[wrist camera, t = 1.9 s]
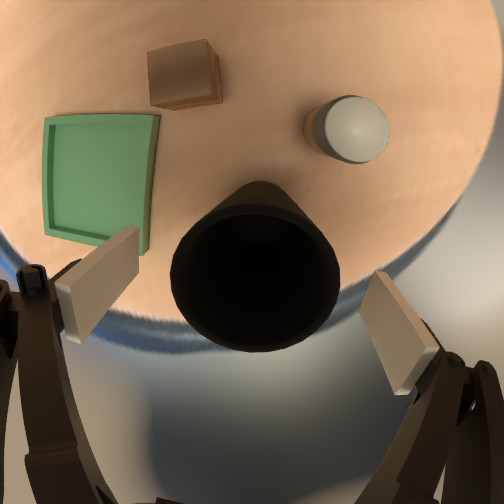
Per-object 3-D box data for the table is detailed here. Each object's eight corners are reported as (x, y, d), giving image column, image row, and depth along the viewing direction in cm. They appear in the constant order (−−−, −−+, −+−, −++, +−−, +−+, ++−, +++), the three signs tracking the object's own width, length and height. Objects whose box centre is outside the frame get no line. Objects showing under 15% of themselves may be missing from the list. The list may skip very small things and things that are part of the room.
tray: (55, 116, 20) (44, 117, 18) (160, 116, 20) (153, 115, 19) (53, 229, 25) (44, 234, 23) (148, 248, 25) (142, 256, 24)
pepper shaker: (308, 100, 19) (330, 84, 12) (356, 114, 19) (397, 107, 12) (299, 148, 21) (316, 155, 14) (346, 160, 21) (383, 174, 14)
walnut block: (170, 66, 19) (147, 52, 14) (218, 57, 18) (205, 39, 14) (174, 110, 20) (150, 105, 16) (222, 102, 20) (210, 94, 15)
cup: (259, 273, 25) (254, 374, 14) (195, 214, 24) (139, 286, 13) (325, 215, 23) (372, 290, 12) (260, 148, 21) (254, 163, 10)
